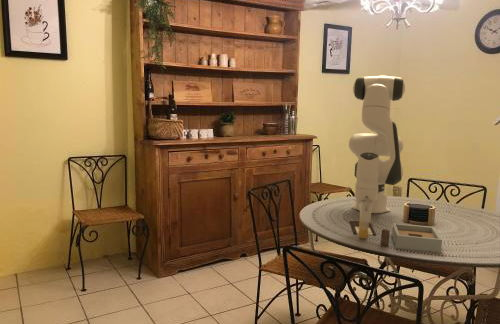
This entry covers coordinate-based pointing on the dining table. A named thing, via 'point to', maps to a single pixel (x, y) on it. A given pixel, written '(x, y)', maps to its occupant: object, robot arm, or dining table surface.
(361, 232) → the dowel
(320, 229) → the dining table surface
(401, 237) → the square frame
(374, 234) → the chocolate bar
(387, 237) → the short dark dowel
